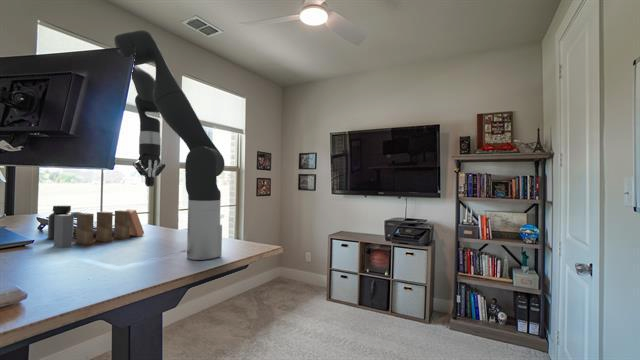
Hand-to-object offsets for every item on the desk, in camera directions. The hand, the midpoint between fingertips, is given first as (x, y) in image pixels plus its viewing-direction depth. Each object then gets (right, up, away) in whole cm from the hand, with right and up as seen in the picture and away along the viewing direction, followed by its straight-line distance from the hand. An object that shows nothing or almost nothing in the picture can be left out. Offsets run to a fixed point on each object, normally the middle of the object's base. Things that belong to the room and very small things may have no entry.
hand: (149, 186), depth 119 cm
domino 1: (-10, -19, -20) cm, 29 cm away
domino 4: (-2, -19, -4) cm, 19 cm away
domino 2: (-7, -19, -15) cm, 25 cm away
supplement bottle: (-23, -19, -15) cm, 33 cm away
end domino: (-12, -19, -26) cm, 34 cm away
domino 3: (-5, -19, -10) cm, 22 cm away
